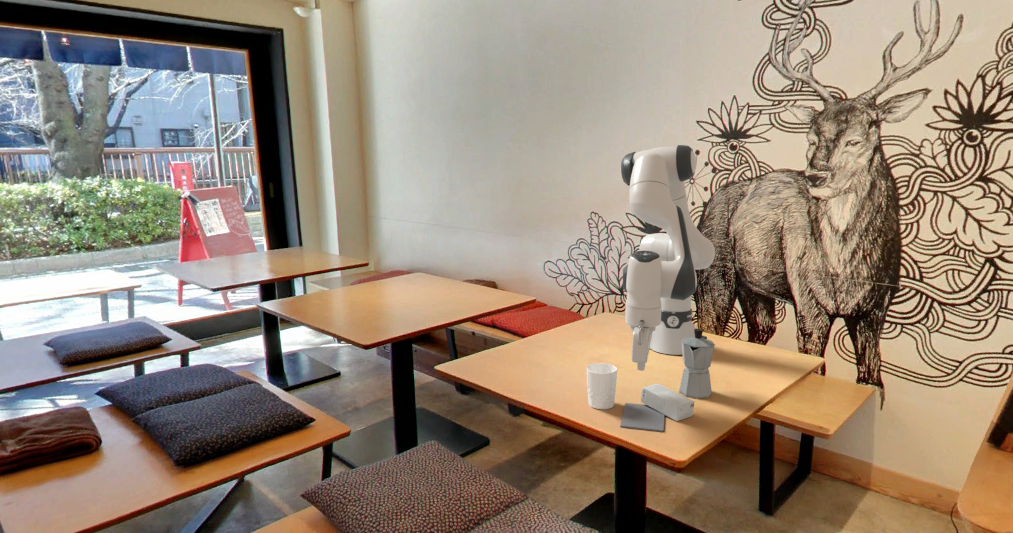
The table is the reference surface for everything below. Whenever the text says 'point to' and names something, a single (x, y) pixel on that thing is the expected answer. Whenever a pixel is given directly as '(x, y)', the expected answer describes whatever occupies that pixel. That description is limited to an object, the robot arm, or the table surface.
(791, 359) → the table surface
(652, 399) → the skincare box
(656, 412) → the mat
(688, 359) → the coffee maker
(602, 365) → the white cup
